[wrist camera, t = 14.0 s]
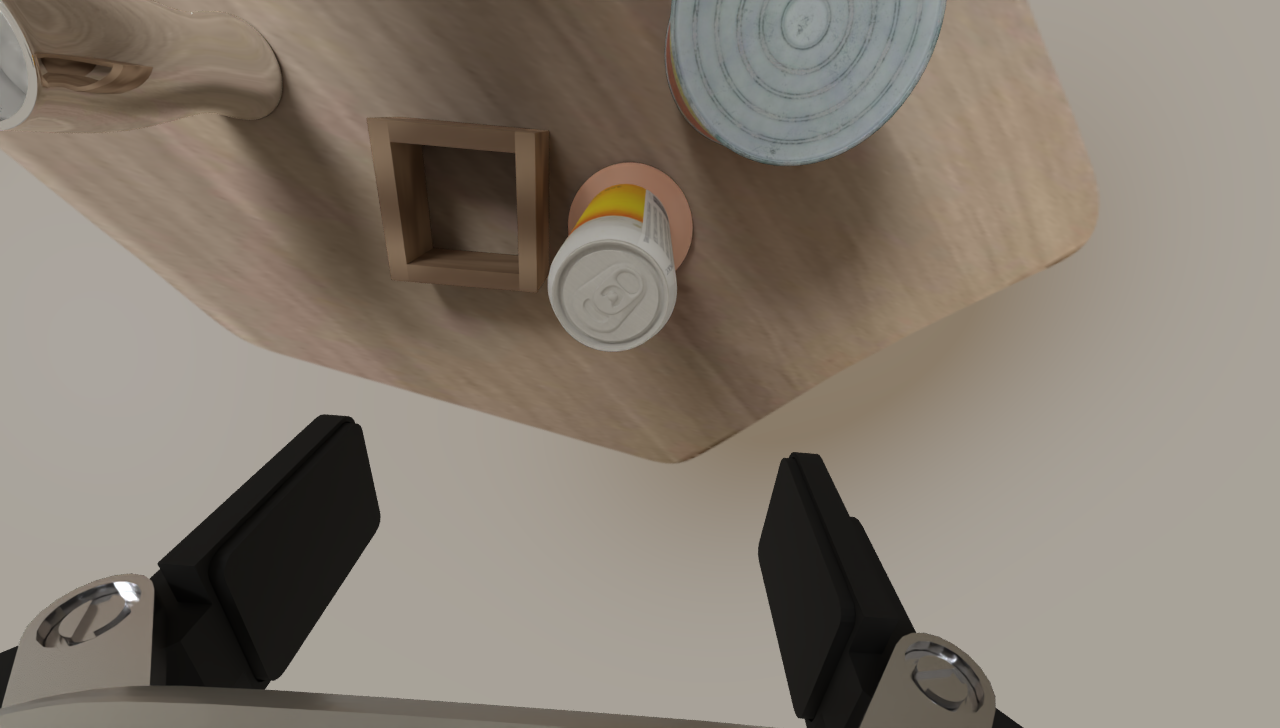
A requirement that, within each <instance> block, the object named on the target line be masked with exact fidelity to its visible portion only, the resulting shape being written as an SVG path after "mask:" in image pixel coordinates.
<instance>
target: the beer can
mask: <svg viewBox="0 0 1280 728" xmlns="http://www.w3.org/2000/svg"><path fill="white" fill-rule="evenodd" d="M548 295H549V300H550V303H551V306H552V309H553V311H554V313H555V315H556V316H557V318H558V320H559V322H560V323H561V325H562V326H563V328H564V329H565V330H566V331H567V332H568V333H569V334H570V335H571V336H572V337H573V338H574V339H575V340H577V341H578V342H580V343H582V344H584V345H585V346H588V347H590V348H593V349H596V350H600V351H607V352H618V351H625V350H629V349H632V348H635V347H637V346H639V345H641V344H643V343H645V342H646V341H648V340H649V339H650V338H652V337H653V336H654V335H656V334H657V333H658V332H659V331H660V330H661V329H662V328H663V327H664V325H665V324H666V323H667V321H668V320H669V318H670V316H671V314H672V312H673V309H674V306H675V303H676V297H677V281H676V273H675V265H674V257H673V250H672V242H671V234H670V226H669V219H668V215H667V212H666V210H665V208H664V206H663V204H662V203H661V202H660V200H659V199H658V198H657V197H656V196H655V195H654V194H653V193H652V192H650V191H649V190H647V189H645V188H643V187H641V186H638V185H633V184H618V185H614V186H610V187H608V188H606V189H604V190H603V191H601V192H600V193H599V194H597V195H596V196H595V197H594V198H593V200H592V201H591V202H590V204H589V205H588V207H587V208H586V210H585V211H584V213H583V214H582V216H581V218H580V219H579V221H578V222H577V224H576V225H575V227H574V228H573V230H572V231H571V233H570V234H569V236H568V237H567V239H566V240H565V242H564V243H563V245H562V246H561V248H560V250H559V251H558V253H557V254H556V256H555V258H554V260H553V262H552V264H551V267H550V271H549V276H548Z"/></svg>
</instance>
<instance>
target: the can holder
mask: <svg viewBox="0 0 1280 728" xmlns="http://www.w3.org/2000/svg"><path fill="white" fill-rule="evenodd" d="M367 124H368V131H369V137H370V144H371V150H372V157H373V163H374V170H375V176H376V183H377V189H378V196H379V202H380V209H381V215H382V222H383V228H384V235H385V241H386V248H387V254H388V261H389V268H390V274H391V280H397V281H408V282H420V283H431V284H443V285H455V286H466V287H478V288H489V289H501V290H512V291H524V292H535V293H537V292H538V290H539V289H540V287H541V286H542V284H543V282H544V281H545V279H546V278H547V276H548V275H549V131H548V130H537V129H526V128H515V127H504V126H493V125H482V124H471V123H460V122H450V121H439V120H428V119H417V118H406V117H382V118H367ZM422 145H431V146H442V147H453V148H464V149H475V150H486V151H497V152H508V153H515V159H516V191H517V224H518V255H507V254H496V253H484V252H473V251H461V250H450V249H439V248H433V243H432V234H431V225H430V215H429V206H428V197H427V188H426V179H425V170H424V161H423V152H422Z"/></svg>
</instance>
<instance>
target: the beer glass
mask: <svg viewBox="0 0 1280 728" xmlns="http://www.w3.org/2000/svg"><path fill="white" fill-rule="evenodd" d="M281 94H282V75H281V70H280V66H279V63H278V61H277V58H276V56H275V54H274V52H273V50H272V49H271V47H270V46H269V44H268V43H267V41H266V40H265V39H264V37H263V36H262V35H261V34H260V33H259V32H258V31H257V30H256V29H255V28H254V27H252V26H251V25H250V24H249V23H247V22H246V21H244V20H242V19H241V18H239V17H237V16H235V15H232V14H229V13H226V12H220V11H198V12H187V11H182V10H178V9H174V8H171V7H168V6H166V5H164V4H161V3H159V2H156V1H154V0H0V131H24V132H44V133H106V132H120V131H130V130H135V129H140V128H146V127H151V126H156V125H159V124H163V123H167V122H171V121H175V120H179V119H182V118H186V117H189V116H194V115H198V114H204V113H215V114H220V115H224V116H228V117H232V118H237V119H244V120H255V119H260V118H263V117H265V116H267V115H269V114H270V113H271V112H272V111H273V110H274V109H275V108H276V107H277V105H278V103H279V101H280V98H281Z"/></svg>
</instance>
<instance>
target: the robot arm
mask: <svg viewBox="0 0 1280 728" xmlns="http://www.w3.org/2000/svg"><path fill="white" fill-rule="evenodd" d="M379 523H380V511H379V506H378V501H377V496H376V492H375V487H374V482H373V478H372V473H371V468H370V464H369V459H368V454H367V450H366V445H365V440H364V436H363V431H362V428H361V426H360V425H359V424H355V422H354V420H353V419H352V418H351V417H349V416H338V415H320V416H318V417H317V418H316V419H314V420H313V421H312V422H311V423H310V424H309V425H308V426H307V427H306V428H305V429H304V430H302V432H300V433H299V434H298V435H297V436H296V437H295V438H294V439H293V440H292V441H291V442H289V443H288V444H287V445H286V446H285V447H284V448H283V449H282V450H281V451H279V452H278V453H277V454H276V455H275V456H274V457H273V458H272V459H271V460H270V461H269V462H267V463H266V464H265V465H264V466H263V467H262V468H261V469H260V470H259V471H258V472H257V473H256V474H254V475H253V476H252V477H251V478H250V479H249V480H248V481H247V482H246V483H244V485H242V486H241V487H240V488H239V489H238V490H237V491H236V492H235V493H234V494H232V495H231V496H230V497H229V498H228V499H227V500H226V501H225V502H224V503H223V504H222V505H220V506H219V507H218V508H217V509H216V510H215V511H214V512H213V513H212V514H211V515H209V516H208V517H207V518H206V519H205V520H204V521H203V522H202V523H201V524H200V525H199V526H197V527H196V528H195V529H194V530H193V531H192V532H191V533H190V534H189V535H188V536H187V537H185V539H183V540H182V541H181V542H180V543H179V544H178V545H177V546H176V547H175V548H173V549H172V550H171V551H170V552H169V553H168V554H167V555H166V556H165V557H164V558H163V559H162V560H161V561H159V562H158V566H159V567H160V570H159V571H158V572H156V573H155V574H154V575H153V576H152V577H151V578H150V579H148V578H147V577H145V576H144V575H138V574H121V575H114V576H110V577H106V578H103V579H99V580H96V581H93V582H91V583H88V584H86V585H84V586H81V587H79V588H76V589H75V590H73V591H71V592H69V593H68V594H66V595H64V596H62V597H61V598H59V599H57V600H56V601H54V602H53V603H52V604H50V605H49V606H48V607H46V608H45V609H44V610H42V611H41V612H40V613H39V614H38V615H37V616H36V617H35V618H34V619H33V620H32V621H31V623H30V624H29V625H28V626H27V627H26V629H25V631H24V633H23V635H22V637H21V639H20V643H19V646H16V647H14V648H11V649H9V650H7V651H4V652H2V653H0V728H773V727H762V726H751V725H741V724H731V723H720V722H709V721H698V720H685V719H672V718H659V717H645V716H633V715H620V714H607V713H594V712H581V711H568V710H554V709H540V708H525V707H513V706H498V705H485V704H471V703H457V702H443V701H428V700H414V699H400V698H384V697H369V696H353V695H338V694H324V693H307V692H292V691H278V690H265V688H266V687H267V686H268V684H269V683H270V681H271V680H272V681H274V680H276V679H278V678H279V677H280V676H281V675H282V674H283V672H284V671H285V670H286V668H287V667H288V665H289V664H290V662H291V661H292V659H293V658H294V656H295V655H296V653H297V652H298V650H299V649H300V647H301V645H302V644H303V642H304V641H305V639H306V638H307V636H308V635H309V633H310V632H311V630H312V629H313V627H314V626H315V624H316V622H317V621H318V619H319V618H320V616H321V615H322V613H323V612H324V610H325V609H326V607H327V606H328V604H329V603H330V601H331V600H332V598H333V597H334V595H335V594H336V592H337V590H338V589H339V587H340V586H341V585H342V583H343V581H344V580H345V578H346V577H347V575H348V574H349V572H350V571H351V569H352V568H353V566H354V565H355V563H356V562H357V560H358V559H359V557H360V556H361V554H362V552H363V551H364V549H365V548H366V546H367V545H368V543H369V542H370V540H371V539H372V537H373V536H374V534H375V533H376V530H377V529H378V527H379ZM758 557H759V563H760V567H761V571H762V575H763V580H764V584H765V588H766V593H767V597H768V601H769V605H770V610H771V614H772V618H773V622H774V627H775V631H776V635H777V639H778V644H779V648H780V652H781V656H782V661H783V665H784V669H785V673H786V678H787V682H788V686H789V690H790V695H791V699H792V703H793V708H794V711H795V714H796V716H797V717H798V718H802V719H805V722H806V726H807V728H1023V727H1022V726H1020V725H1019V724H1017V723H1016V722H1015V721H1013V720H1012V719H1010V718H1009V717H1008V716H1006V715H1005V714H1004V713H1002V712H1000V711H999V710H998V709H997V708H996V707H995V706H996V705H995V704H996V703H995V694H994V691H993V689H992V686H991V683H990V681H989V680H988V679H987V677H986V676H985V674H984V672H983V671H982V669H981V668H980V667H979V666H978V665H977V664H976V663H975V661H974V660H973V659H972V658H971V657H970V656H969V655H968V654H966V653H965V652H963V651H962V650H961V649H959V648H958V647H957V646H955V645H954V644H952V643H950V642H948V641H946V640H944V639H942V638H940V637H938V636H934V635H931V634H927V633H916V631H915V629H914V628H913V625H912V624H911V622H910V620H909V618H908V616H907V614H906V612H905V610H904V608H903V606H902V604H901V602H900V600H899V598H898V596H897V594H896V592H895V590H894V588H893V586H892V584H891V582H890V580H889V578H888V576H887V574H886V572H885V570H884V568H883V566H882V564H881V562H880V560H879V558H878V556H877V554H876V552H875V550H874V548H873V546H872V544H871V542H870V540H869V538H868V536H867V534H866V532H865V530H864V528H863V526H862V525H861V523H860V522H859V520H858V519H856V518H855V517H850V516H849V514H848V512H847V510H846V508H845V506H844V504H843V502H842V499H841V497H840V495H839V493H838V491H837V489H836V488H835V485H834V483H833V481H832V479H831V477H830V475H829V473H828V471H827V468H826V466H825V464H824V463H823V460H822V458H821V457H820V455H818V454H810V453H798V452H793V453H791V455H790V456H789V458H783V459H782V460H781V463H780V466H779V470H778V474H777V478H776V481H775V485H774V489H773V493H772V496H771V500H770V504H769V508H768V512H767V516H766V519H765V523H764V527H763V530H762V534H761V538H760V542H759V547H758Z"/></svg>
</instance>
